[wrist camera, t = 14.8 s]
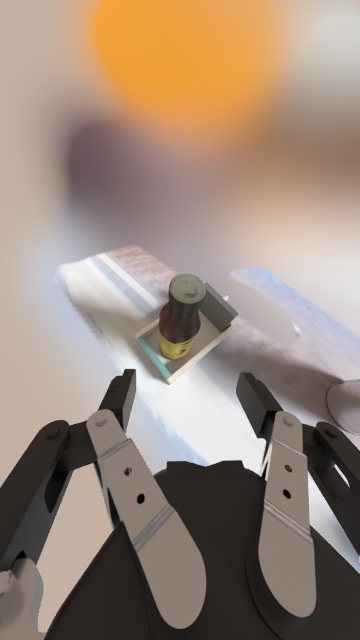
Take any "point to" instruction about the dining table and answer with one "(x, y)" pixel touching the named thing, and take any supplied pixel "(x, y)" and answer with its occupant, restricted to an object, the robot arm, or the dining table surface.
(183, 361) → the pusher lane
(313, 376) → the dining table surface
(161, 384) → the dining table surface
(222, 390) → the dining table surface
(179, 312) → the sauce bottle
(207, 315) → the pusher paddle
